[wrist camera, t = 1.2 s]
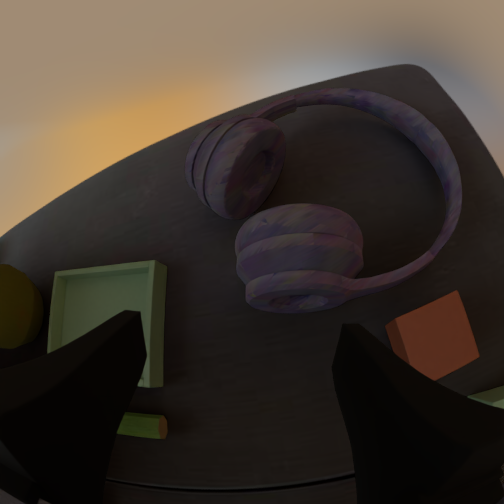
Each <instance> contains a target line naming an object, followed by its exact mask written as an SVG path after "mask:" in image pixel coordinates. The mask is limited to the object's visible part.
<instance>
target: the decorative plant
mask: <svg viewBox="0 0 504 504" xmlns="http://www.w3.org/2000/svg"><path fill="white" fill-rule="evenodd" d="M167 432H168V429H167V420H166V419H165V417H164V415H152V414H140V413H130V412H125V414H124V416H123V419H122V421H121V423H120V426H119V428H118V431H117V434H123V435H130V436H138V437H146V438H156V439H165V438H166V435H167Z"/></svg>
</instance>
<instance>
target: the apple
mask: <svg viewBox="0 0 504 504" xmlns="http://www.w3.org/2000/svg"><path fill="white" fill-rule="evenodd" d="M43 316H44V307H43V299H42V297H41V294H40V291H39V290H38V289H37V287H36V286H35V285H34V284H33V283H32V281H31V280H30V279H29V278H28V277H27V276H26V275H25V273H23V272H21V271H19V270H17V269H16V268H14V267H12V266H10V265H7V264H0V348H6V349H13V348H16V347H18V346H21V345H24V344H27V343H30V342H33V341H34V339H35V338H36V337H37V335H38V333H39V331H40V328H41V326H42V322H43Z"/></svg>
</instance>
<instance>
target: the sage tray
mask: <svg viewBox="0 0 504 504" xmlns="http://www.w3.org/2000/svg"><path fill="white" fill-rule="evenodd" d="M166 281H167V266H165V265H163V264H161V263H160V262H158V261H156V260H150V261H141V262H133V263H124V264H116V265H107V266H99V267H90V268H82V269H73V270H65V271H57V272H55V277H54V284H53V291H52V299H51V308H50V319H49V332H48V350H47V354H48V353H50V352H52V351H54V350H56V349H58V348H60V347H62V346H64V345H66V344H68V343H70V342H72V341H73V340H75V339H77V338H79V337H80V336H82V335H84V334H86V333H87V332H89V331H91V330H92V329H94V328H95V327H97V326H99V325H100V324H102V323H103V322H105V321H107V320H108V319H110V318H111V317H113V316H115V315H116V314H118V313H120V312H122V311H124V310H132V311H141V319H142V326H143V332H144V339H145V345H146V351H147V359H146V362H145V366H144V369H143V372H142V376H141V379H140V381H139V383H138V385H137V386H141V387H147V388H153V387H163V353H164V318H165V297H166Z"/></svg>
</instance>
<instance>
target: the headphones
mask: <svg viewBox="0 0 504 504" xmlns="http://www.w3.org/2000/svg"><path fill="white" fill-rule="evenodd" d="M321 104H331V105H342V106H347V107H352V108H355V109H359V110H362V111H365V112H368V113H370V114H372V115H375V116H377V117H379V118H381V119H383V120H384V121H386V122H388V123H389V124H391V125H392V126H394V127H395V128H396V129H398V130H399V131H400V132H401V133H403V134H404V135H405V136H406V137H407V138H408V139H409V140H410V141H412V142H413V143H414V144H416V146H417V147H418V149H419V150H420V151H421V152H422V153H423V154H424V155H425V157H426V158H427V159H428V160H429V162H430V163H431V165H432V166H433V167H434V169H435V171H436V173H437V175H438V177H439V179H440V181H441V184H442V187H443V190H444V195H445V201H446V216H445V220H444V224H443V227H442V229H441V232H440V234H439V236H438V237H437V239H436V240H435V242H434V244H433V245H432V247H431V248H430V249H429V251H427V252H426V253H425V254H424V255H422V256H421V257H420V258H418V259H416V260H415V261H413V262H412V263H410V264H408V265H406V266H404V267H402V268H400V269H397V270H394V271H392V272H388V273H385V274H381V275H377V276H374V277H369V278H361V279H354V278H355V277H356V276H357V275H358V274H359V273H360V272H361V270H362V269H363V266H364V263H363V256H362V249H363V237H362V233H361V230H360V228H359V226H358V225H357V223H356V222H355V221H354V219H353V218H352V217H351V216H349V215H348V214H347V213H345V212H343V211H341V210H339V209H336V208H333V207H330V206H326V205H320V204H310V203H298V204H288V205H282V206H277V207H273V208H270V209H267V210H264V211H262V212H259V213H257V214H256V215H254V216H252V217H251V218H249V219H248V220H247V221H246V222H245V223H244V224H243V225H242V227H241V228H240V230H239V232H238V234H237V237H236V241H235V253H236V256H237V266H236V272H237V275H238V276H239V278H240V279H241V280H242V282H243V283H244V284H245V286H246V294H245V299H246V302H247V303H248V304H249V305H251V306H252V307H253V308H256V309H258V310H262V311H267V312H273V313H308V312H316V311H322V310H327V309H331V308H334V307H337V306H340V305H341V304H343V303H344V302H346V301H348V300H352V299H355V298H358V297H361V296H365V295H369V294H373V293H377V292H380V291H384V290H387V289H390V288H392V287H394V286H397V285H399V284H401V283H403V282H404V281H406V280H408V279H410V278H411V277H413V276H414V275H416V274H417V273H419V272H420V271H421V270H423V269H424V268H425V267H427V266H428V265H429V264H430V263H431V262H432V261H433V259H434V257H435V256H436V255H437V254H438V252H439V251H440V250H441V249H442V248H443V246H444V245H445V244H446V242H447V241H448V239H449V238H450V236H451V235H452V233H453V231H454V230H455V227H456V225H457V222H458V219H459V215H460V211H461V206H462V186H461V176H460V172H459V168H458V164H457V162H456V159H455V157H454V154H453V152H452V150H451V148H450V146H449V144H448V143H447V141H446V139H445V138H444V136H443V135H442V134H441V132H440V131H439V130H438V129H437V128H436V126H435V125H434V124H432V123H431V122H429V121H428V119H427V118H426V117H425V116H424V115H423V114H421V113H420V112H418V111H417V110H416V109H414V108H412V107H411V106H409V105H407V104H405V103H403V102H401V101H399V100H396V99H394V98H391V97H389V96H386V95H383V94H379V93H375V92H371V91H365V90H359V89H350V88H329V89H320V90H315V91H310V92H306V93H302V94H298V95H294V96H293V95H290V96H287V97H285V98H282V99H279V100H276V101H274V102H272V103H270V104H268V105H266V106H264V107H262V108H261V109H259V110H257V111H256V112H254V113H253V114H251V115H238V116H235V117H232V118H231V119H229V120H217V121H214V122H212V123H211V124H209V125H208V126H206V127H205V128H204V129H203V130H202V131H201V132H200V133H199V134H198V135H197V137H196V138H195V139H194V141H193V143H192V144H191V146H190V149H189V151H188V154H187V157H186V163H185V176H186V180H187V183H188V184H189V186H190V187H191V188H192V189H194V190H195V191H196V192H197V194H198V197H199V199H200V200H201V202H202V203H203V204H205V205H206V206H208V207H210V208H211V209H213V211H214V212H215V213H217V214H218V215H219V216H221V217H223V218H226V219H232V220H239V219H243V218H245V217H247V216H249V215H251V214H252V213H253V212H254V211H256V210H257V209H258V208H259V207H260V206H261V205H262V204H263V202H264V201H265V200H266V199H267V197H268V196H269V194H270V193H271V191H272V190H273V188H274V186H275V184H276V182H277V180H278V178H279V175H280V173H281V170H282V167H283V164H284V159H285V153H286V142H285V137H284V134H283V132H282V131H281V129H280V128H279V127H278V126H277V125H276V124H274V123H273V121H274V120H276V119H278V118H280V117H282V116H285V115H287V114H289V113H292V112H295V111H296V107H302V106H309V105H321Z"/></svg>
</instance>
